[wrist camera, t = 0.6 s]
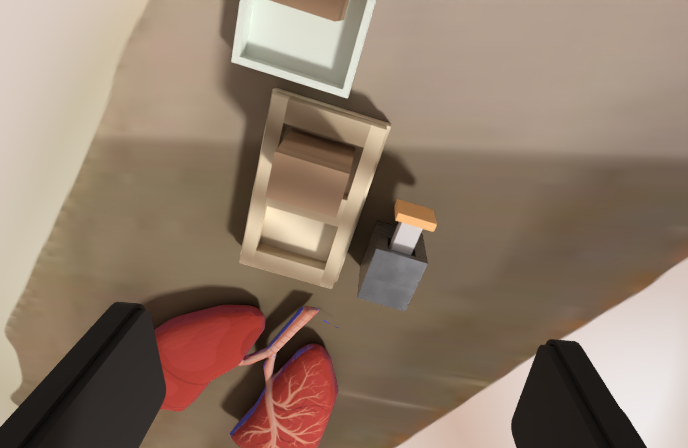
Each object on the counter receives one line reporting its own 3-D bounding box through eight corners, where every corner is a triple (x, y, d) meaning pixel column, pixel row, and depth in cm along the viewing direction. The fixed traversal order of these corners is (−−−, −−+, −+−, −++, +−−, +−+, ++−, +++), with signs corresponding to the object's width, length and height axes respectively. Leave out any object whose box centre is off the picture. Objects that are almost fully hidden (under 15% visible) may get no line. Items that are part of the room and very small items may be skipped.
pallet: (275, 87, 37) (267, 92, 34) (390, 123, 37) (391, 131, 35) (243, 248, 45) (235, 261, 42) (338, 275, 46) (335, 290, 43)
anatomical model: (286, 450, 65) (407, 339, 54) (281, 498, 59) (417, 383, 48) (101, 374, 56) (200, 221, 45) (72, 421, 50) (178, 256, 38)
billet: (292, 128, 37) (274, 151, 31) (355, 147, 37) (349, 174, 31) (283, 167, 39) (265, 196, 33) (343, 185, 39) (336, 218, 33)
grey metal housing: (377, 220, 42) (376, 248, 37) (422, 234, 42) (427, 263, 37) (360, 266, 45) (357, 297, 40) (402, 278, 45) (405, 311, 40)
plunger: (397, 198, 38) (398, 212, 35) (433, 209, 38) (437, 224, 36) (380, 240, 40) (380, 256, 38) (415, 250, 40) (417, 267, 38)
